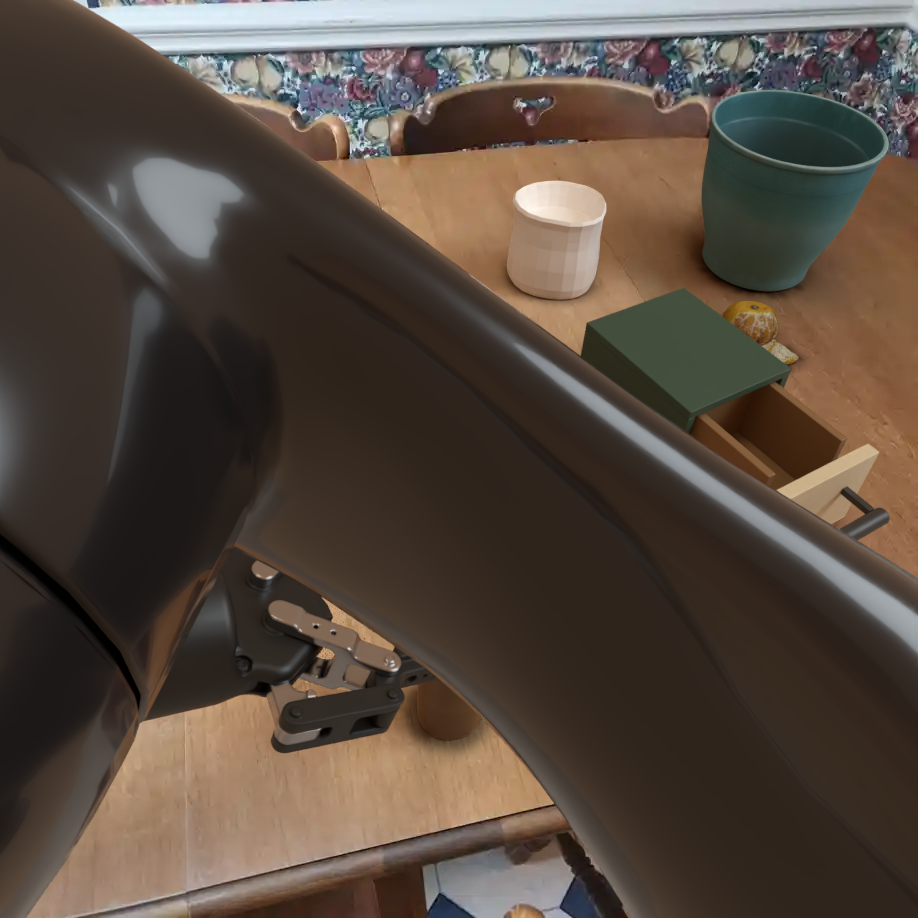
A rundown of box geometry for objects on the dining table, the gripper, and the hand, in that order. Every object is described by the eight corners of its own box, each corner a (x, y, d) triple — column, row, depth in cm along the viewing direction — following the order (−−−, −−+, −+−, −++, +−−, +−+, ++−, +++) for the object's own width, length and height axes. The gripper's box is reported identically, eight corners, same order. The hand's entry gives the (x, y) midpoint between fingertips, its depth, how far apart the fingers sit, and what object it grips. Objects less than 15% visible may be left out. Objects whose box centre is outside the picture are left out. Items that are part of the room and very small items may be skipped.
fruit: (723, 368, 90) (733, 339, 88) (699, 319, 96) (707, 291, 93) (801, 366, 91) (813, 337, 88) (771, 317, 97) (782, 289, 94)
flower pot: (826, 327, 96) (887, 182, 84) (662, 287, 100) (699, 143, 88) (836, 245, 108) (891, 109, 96) (690, 213, 112) (725, 78, 100)
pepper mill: (492, 721, 61) (502, 654, 55) (437, 752, 59) (442, 685, 53) (458, 673, 64) (465, 603, 58) (405, 701, 62) (406, 632, 56)
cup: (608, 295, 98) (624, 216, 91) (525, 310, 96) (535, 229, 89) (573, 250, 105) (585, 173, 98) (494, 262, 102) (501, 184, 95)
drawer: (883, 550, 73) (923, 485, 67) (795, 602, 69) (830, 537, 63) (739, 429, 82) (764, 363, 77) (655, 468, 78) (674, 401, 73)
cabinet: (759, 448, 82) (792, 368, 75) (665, 494, 77) (690, 412, 70) (662, 366, 90) (683, 287, 83) (571, 403, 85) (586, 322, 78)
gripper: (161, 735, 33) (506, 652, 42) (86, 471, 42) (388, 448, 50) (137, 827, 38) (453, 735, 47) (74, 573, 46) (353, 535, 55)
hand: (419, 586), depth 49 cm, fingers open, 8 cm apart
